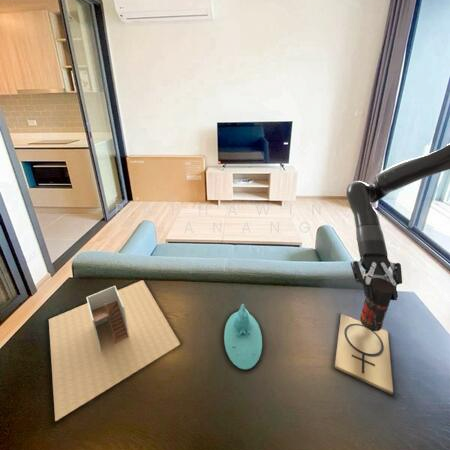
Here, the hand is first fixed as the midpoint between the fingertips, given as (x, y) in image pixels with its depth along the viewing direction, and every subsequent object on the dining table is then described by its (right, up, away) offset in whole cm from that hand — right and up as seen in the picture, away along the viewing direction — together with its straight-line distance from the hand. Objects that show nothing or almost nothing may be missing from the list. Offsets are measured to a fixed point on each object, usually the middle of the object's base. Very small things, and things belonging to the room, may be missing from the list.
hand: (381, 299), depth 70 cm
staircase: (-83, -15, +10) cm, 85 cm away
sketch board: (-3, -17, +4) cm, 18 cm away
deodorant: (0, -10, +6) cm, 12 cm away
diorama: (-40, -16, +8) cm, 44 cm away
